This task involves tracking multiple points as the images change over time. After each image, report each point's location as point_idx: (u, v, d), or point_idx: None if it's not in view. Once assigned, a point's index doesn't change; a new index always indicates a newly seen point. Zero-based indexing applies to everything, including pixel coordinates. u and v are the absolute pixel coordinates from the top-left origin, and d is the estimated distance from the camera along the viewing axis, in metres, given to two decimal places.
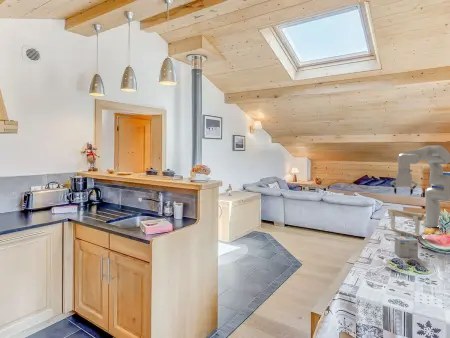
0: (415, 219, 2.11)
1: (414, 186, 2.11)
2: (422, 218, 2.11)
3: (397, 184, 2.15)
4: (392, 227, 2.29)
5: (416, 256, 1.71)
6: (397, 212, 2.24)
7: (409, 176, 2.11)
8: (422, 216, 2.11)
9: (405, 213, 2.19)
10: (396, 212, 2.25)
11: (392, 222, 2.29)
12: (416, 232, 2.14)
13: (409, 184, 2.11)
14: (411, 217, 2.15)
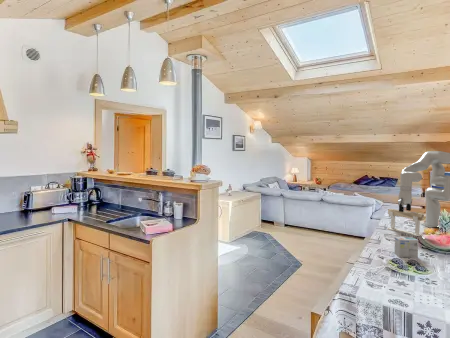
0: (415, 219, 2.11)
1: (411, 202, 2.23)
2: (422, 218, 2.11)
3: (405, 202, 2.17)
4: (392, 227, 2.29)
5: (416, 256, 1.71)
6: (397, 212, 2.24)
7: (411, 193, 2.20)
8: (422, 216, 2.11)
9: (405, 213, 2.19)
10: (396, 212, 2.25)
11: (392, 222, 2.29)
12: (416, 232, 2.14)
13: (410, 201, 2.20)
14: (411, 217, 2.15)
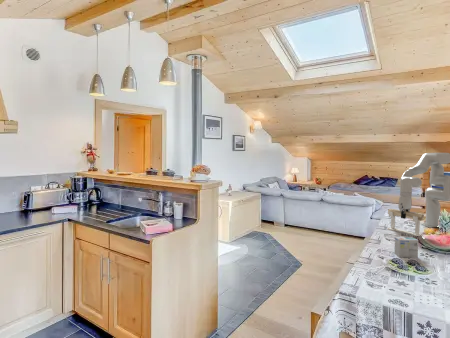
0: (415, 219, 2.11)
1: (409, 209, 2.22)
2: (422, 218, 2.11)
3: (405, 208, 2.17)
4: (392, 227, 2.29)
5: (416, 256, 1.71)
6: (397, 212, 2.24)
7: None
8: (422, 216, 2.11)
9: (405, 213, 2.19)
10: (396, 212, 2.25)
11: (392, 222, 2.29)
12: (416, 232, 2.14)
13: None
14: (411, 217, 2.15)
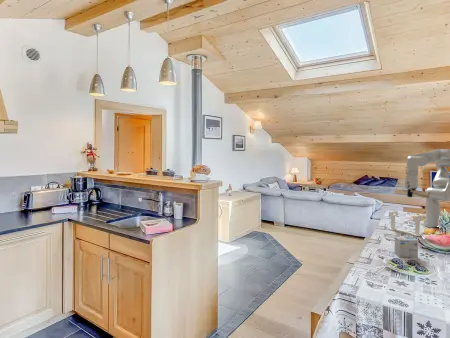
0: (415, 219, 2.11)
1: (415, 188, 2.25)
2: (429, 196, 2.14)
3: (411, 186, 2.20)
4: (392, 227, 2.29)
5: (416, 256, 1.71)
6: (403, 191, 2.27)
7: (417, 177, 2.23)
8: (429, 194, 2.14)
9: (412, 192, 2.22)
10: (402, 191, 2.28)
11: (392, 222, 2.29)
12: (416, 232, 2.14)
13: (417, 185, 2.23)
14: (418, 195, 2.18)
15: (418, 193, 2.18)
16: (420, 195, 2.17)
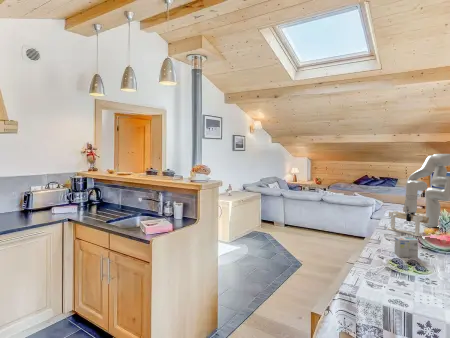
0: (415, 219, 2.11)
1: (414, 212, 2.26)
2: (427, 221, 2.15)
3: (410, 211, 2.21)
4: (392, 227, 2.29)
5: (416, 256, 1.71)
6: (402, 215, 2.28)
7: (416, 202, 2.24)
8: (427, 219, 2.15)
9: None
10: (401, 215, 2.29)
11: (392, 222, 2.29)
12: (416, 232, 2.14)
13: (416, 209, 2.25)
14: None
15: None
16: None
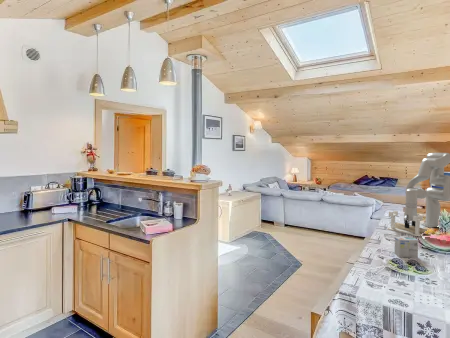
0: (415, 219, 2.11)
1: None
2: None
3: (410, 219, 2.22)
4: (392, 227, 2.29)
5: (416, 256, 1.71)
6: (403, 226, 2.29)
7: (416, 209, 2.25)
8: None
9: (410, 228, 2.24)
10: (402, 226, 2.30)
11: (392, 222, 2.29)
12: (416, 232, 2.14)
13: None
14: None
15: None
16: None
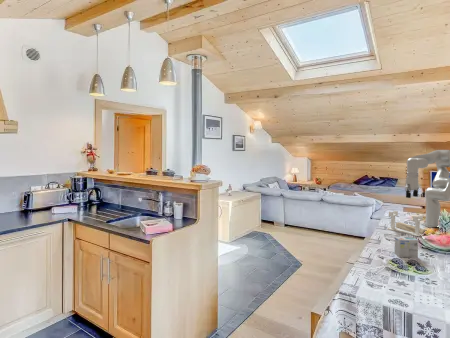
0: (415, 219, 2.11)
1: (418, 188, 2.26)
2: None
3: (412, 188, 2.20)
4: (392, 227, 2.29)
5: (416, 256, 1.71)
6: (403, 226, 2.30)
7: (417, 179, 2.23)
8: None
9: (410, 227, 2.24)
10: (402, 226, 2.31)
11: (392, 222, 2.29)
12: (416, 232, 2.14)
13: (417, 187, 2.24)
14: (414, 232, 2.20)
15: None
16: None
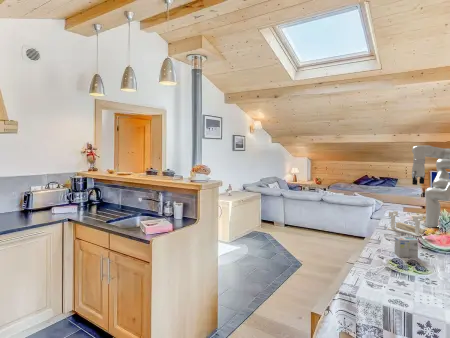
0: (415, 219, 2.11)
1: (424, 175, 2.26)
2: None
3: (418, 175, 2.20)
4: (392, 227, 2.29)
5: (416, 256, 1.71)
6: (403, 226, 2.30)
7: (424, 166, 2.23)
8: None
9: (410, 227, 2.24)
10: (402, 226, 2.31)
11: (392, 222, 2.29)
12: (416, 232, 2.14)
13: (424, 174, 2.24)
14: (414, 232, 2.20)
15: None
16: None
